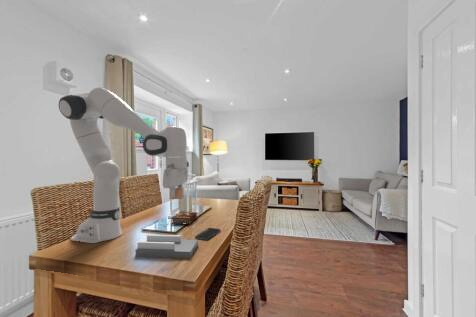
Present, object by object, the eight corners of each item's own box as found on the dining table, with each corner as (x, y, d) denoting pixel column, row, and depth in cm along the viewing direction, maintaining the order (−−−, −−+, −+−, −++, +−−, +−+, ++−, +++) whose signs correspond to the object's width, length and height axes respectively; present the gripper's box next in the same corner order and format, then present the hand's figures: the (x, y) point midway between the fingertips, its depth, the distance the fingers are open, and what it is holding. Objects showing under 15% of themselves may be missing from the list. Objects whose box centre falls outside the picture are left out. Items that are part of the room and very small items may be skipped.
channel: (135, 256, 86) (135, 244, 86) (149, 244, 98) (149, 233, 98) (190, 257, 85) (190, 245, 85) (197, 245, 97) (197, 234, 97)
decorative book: (197, 218, 141) (197, 210, 140) (188, 226, 125) (188, 217, 125) (181, 217, 142) (181, 210, 142) (170, 225, 126) (170, 217, 126)
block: (169, 199, 89) (169, 189, 88) (172, 197, 93) (172, 188, 93) (181, 199, 89) (181, 189, 89) (183, 196, 94) (183, 187, 94)
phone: (194, 237, 105) (208, 227, 119) (194, 239, 105) (208, 229, 119) (207, 239, 102) (221, 229, 116) (207, 241, 102) (221, 231, 116)
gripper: (174, 164, 81) (174, 200, 81) (190, 163, 101) (190, 191, 101) (158, 164, 81) (158, 200, 81) (177, 163, 101) (177, 191, 101)
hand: (176, 195), depth 91 cm, fingers closed on block, 5 cm apart
